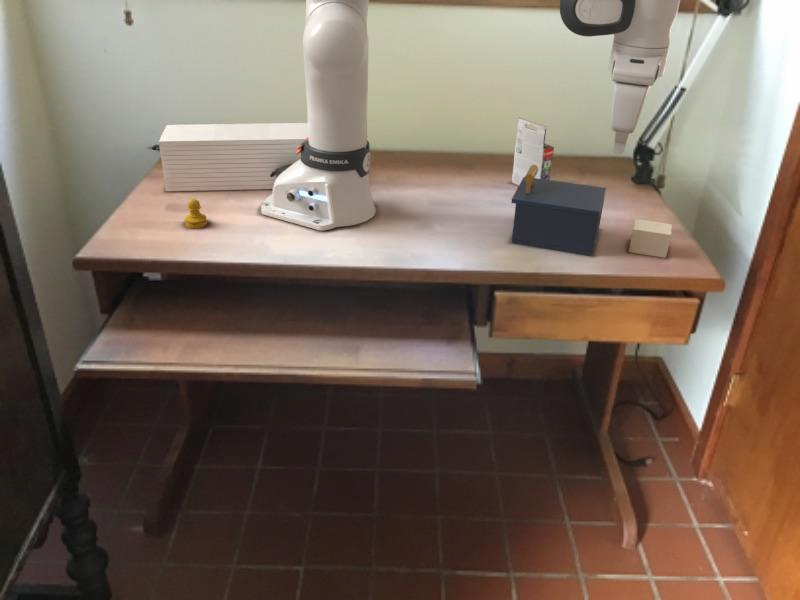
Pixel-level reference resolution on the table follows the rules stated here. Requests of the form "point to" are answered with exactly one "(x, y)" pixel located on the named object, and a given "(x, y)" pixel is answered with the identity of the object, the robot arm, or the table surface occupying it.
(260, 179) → the white ribbed box
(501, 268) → the table surface
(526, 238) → the chest
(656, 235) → the cream box
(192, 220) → the chess piece
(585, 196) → the lid
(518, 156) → the ink box
